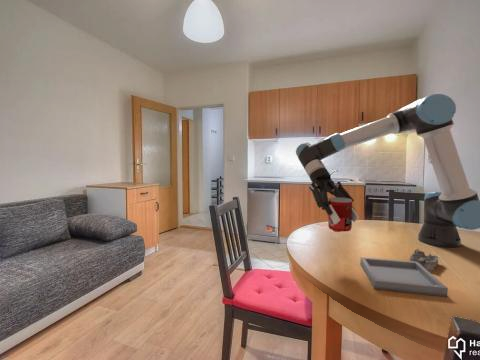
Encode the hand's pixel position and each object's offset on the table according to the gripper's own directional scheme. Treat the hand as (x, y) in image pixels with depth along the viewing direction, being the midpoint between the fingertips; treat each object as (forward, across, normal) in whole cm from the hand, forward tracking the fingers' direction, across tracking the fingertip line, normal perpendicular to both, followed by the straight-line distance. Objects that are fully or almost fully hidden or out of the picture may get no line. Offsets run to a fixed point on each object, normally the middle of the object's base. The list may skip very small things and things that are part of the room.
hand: (347, 221), depth 85 cm
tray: (+21, -8, -2) cm, 23 cm away
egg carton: (+18, -27, -6) cm, 33 cm away
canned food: (0, 0, -5) cm, 5 cm away
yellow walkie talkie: (-16, -34, -40) cm, 55 cm away
